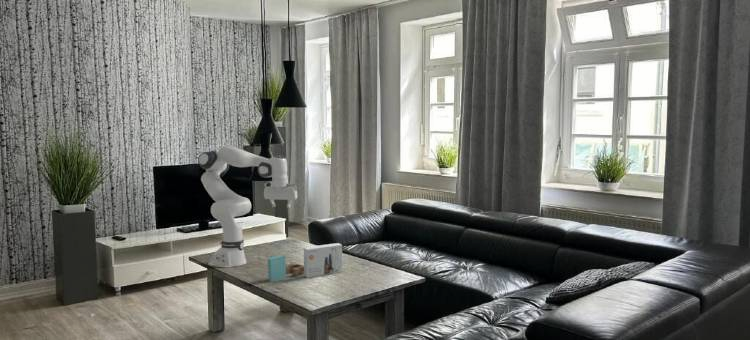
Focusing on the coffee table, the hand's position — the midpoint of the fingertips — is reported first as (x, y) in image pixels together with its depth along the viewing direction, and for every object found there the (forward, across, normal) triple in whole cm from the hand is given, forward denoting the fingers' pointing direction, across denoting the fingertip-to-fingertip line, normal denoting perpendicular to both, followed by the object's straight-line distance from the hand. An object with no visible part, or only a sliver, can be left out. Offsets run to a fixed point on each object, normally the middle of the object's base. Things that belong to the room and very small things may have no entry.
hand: (281, 207), depth 336 cm
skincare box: (+34, -31, +13) cm, 48 cm away
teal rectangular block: (+34, -10, +27) cm, 45 cm away
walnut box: (+34, -15, +15) cm, 40 cm away
